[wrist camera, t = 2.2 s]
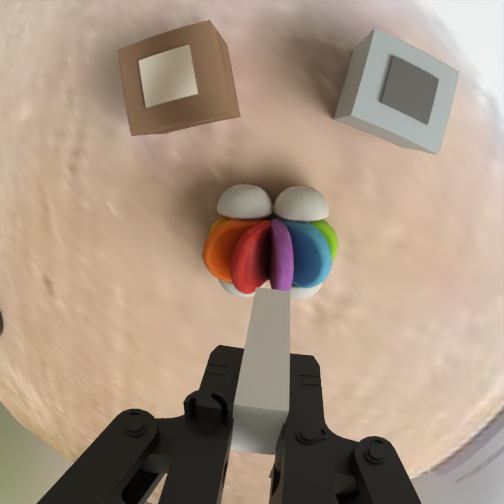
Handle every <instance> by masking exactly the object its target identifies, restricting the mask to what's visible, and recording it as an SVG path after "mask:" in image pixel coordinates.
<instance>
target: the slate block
mask: <svg viewBox="0 0 504 504" xmlns="http://www.w3.org/2000/svg"><path fill="white" fill-rule="evenodd" d="M458 74H459V72H458V71H456V70H455V69H453V68H452V67H450V66H448V65H447V64H445V63H443V62H442V61H440V60H438V59H437V58H435V57H433V56H431V55H430V54H428V53H426V52H424V51H422V50H421V49H419V48H417V47H415V46H413V45H411V44H409V43H407V42H405V41H403V40H401V39H399V38H397V37H395V36H392V35H390V34H388V33H386V32H384V31H381V30H379V29H377V28H375V29H374V30H373V31H372V32H371V33H370V34H369V35H368V36H367V37H366V38H365V39H364V40H363V41H362V42H361V43H360V44H359V45H358V46H357V47H356V48H355V49H354V50H353V53H352V56H351V60H350V63H349V67H348V71H347V74H346V77H345V81H344V84H343V88H342V91H341V95H340V98H339V101H338V105H337V108H336V111H335V115H334V118H333V119H334V120H337V121H339V122H342V123H345V124H348V125H350V126H353V127H355V128H358V129H361V130H363V131H366V132H368V133H371V134H373V135H375V136H378V137H380V138H382V139H385V140H387V141H389V142H392V143H394V144H396V145H398V146H401V147H403V148H408V149H413V150H418V151H423V152H427V153H432V154H436V155H438V153H439V150H440V147H441V144H442V140H443V137H444V133H445V129H446V126H447V122H448V118H449V114H450V110H451V106H452V102H453V98H454V93H455V89H456V84H457V79H458Z"/></svg>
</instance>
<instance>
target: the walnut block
mask: <svg viewBox="0 0 504 504" xmlns="http://www.w3.org/2000/svg"><path fill="white" fill-rule="evenodd" d="M118 53H119V61H120V69H121V76H122V83H123V90H124V97H125V103H126V109H127V115H128V120H129V126H130V131H131V136H136V135H148V134H163V133H169V132H173V131H177V130H181V129H185V128H189V127H193V126H198V125H202V124H206V123H211V122H216V121H221V120H226V119H231V118H236V117H240V112H239V106H238V101H237V95H236V90H235V84H234V79H233V74H232V68H231V63H230V58H229V52H228V47H227V44H226V43H225V41H224V40H223V38H222V37H221V35H220V34H219V33H218V31H217V30H216V28H215V27H214V25H213V24H212V23H211V21H210V20H208V21H204V22H200V23H196V24H192V25H189V26H185V27H182V28H178V29H175V30H172V31H169V32H166V33H163V34H160V35H157V36H154V37H151V38H148V39H145V40H143V41H140V42H138V43H135V44H132V45H130V46H127V47H125V48H123V49H120V50H118Z"/></svg>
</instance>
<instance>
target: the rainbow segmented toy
mask: <svg viewBox="0 0 504 504" xmlns="http://www.w3.org/2000/svg"><path fill="white" fill-rule="evenodd" d="M217 212H218V213H220V214H221V215H223V216H222V217H220V218H219V219H218V220H217V221H215V222H214V224H213V225H212V227H211V228H210V231H209V234H208V238H207V240H206V242H205V245H204V248H203V253H202V256H203V260H204V263H205V265H206V267H207V269H208V270H209V271H210V272H211V273H212V274H213V275H214V276H215V277H217V278H218V279H219V281H220V283H221V285H222V287H223V288H224V289H225V290H226V291H227V292H229V293H230V294H232V295H234V296H237V297H250V296H253V295H255V290H256V287H259V288H264V287H265V285H266V284H267V282H268V279H269V280H270V284H271V287H272V289H275V290H283V291H290V298H291V299H296V300H300V299H306V298H308V297H310V296H312V295H314V294H315V293H316V292H317V291H318V290H319V289H320V287H321V285H322V283H323V281H324V280H325V279H326V277H327V276H328V274H329V272H330V269H331V266H332V261H333V259H334V258H335V256H336V253H337V246H338V241H337V237H336V234H335V232H334V230H333V229H332V227H331V226H330V225H329V224H328V223H327V222H326V221H325V220H323V219H324V218H327V217H328V215H329V207H328V204H327V201H326V199H325V198H324V196H323V195H322V194H321V193H320V192H319V191H317V190H316V189H314V188H311V187H305V186H293V187H289V188H287V189H286V190H284V191H283V192H282V193H281V194H280V195H279V196H278V197H277V199H276V201H275V203H274V204H272V202H271V200H270V198H269V196H268V194H267V193H266V192H265V191H264V190H263V189H261V188H260V187H258V186H255V185H247V184H241V185H234V186H232V187H230V188H228V189H227V190H226V191H225V192H224V193H223V194H222V195H221V197H220V199H219V201H218V204H217ZM272 213H274V214H276V215H277V216H278V219H273V220H271V221H269V220H267V217H268V216H269V215H270V214H272Z"/></svg>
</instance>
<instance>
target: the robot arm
mask: <svg viewBox="0 0 504 504" xmlns="http://www.w3.org/2000/svg"><path fill="white" fill-rule="evenodd" d="M2 332H3V321H2V316H1V313H0V335H1V334H2ZM183 403H184V411H185V414H184V415H182V416H179V417H175V418H154V416H152V415H151V414H150V413H149V412H147V411H144V410H141V409H129V410H126V411H123V412H121V413H120V414H119V415H117V416H116V418H115V419H114V420H113V421H112V422H111V423H110V424H109V425H108V426H107V427H106V429H105V430H104V431H103V432H102V433H101V434H100V435H99V436H98V437H97V438H96V440H95V441H94V442H93V443H92V444H91V445H90V446H89V447H88V448H87V449H86V451H85V452H84V453H83V454H82V455H81V456H80V457H79V458H78V459H77V460H76V462H75V463H74V464H73V465H72V466H71V467H70V468H69V469H68V470H67V471H66V472H65V474H64V475H63V476H62V477H61V478H60V479H59V480H58V481H57V482H56V483H55V484H54V486H53V487H52V488H51V489H50V490H49V491H48V492H47V493H46V494H45V495H44V496H43V497H42V499H41V500H40V501H39V502H38V503H37V504H144V503H145V502H146V500H147V499H148V498H149V496H150V495H151V493H152V492H153V491H154V489H155V488H156V486H157V485H158V483H159V482H160V480H161V479H162V478H163V476H164V475H165V473H168V474H167V477H166V480H165V484H164V487H163V490H162V493H161V496H160V500H159V503H158V504H221V499H222V494H223V488H224V483H225V478H226V472H227V467H228V458H229V453H230V450H236V451H244V452H251V453H260V454H270V455H274V454H275V463H274V465H273V468H272V470H271V473H270V476H269V477H270V478H271V489H270V499H269V504H421V502H420V500H419V498H418V495H417V493H416V491H415V489H414V487H413V485H412V483H411V481H410V479H409V477H408V475H407V473H406V471H405V469H404V466H403V464H402V462H401V460H400V458H399V456H398V454H397V452H396V450H395V448H394V447H393V446H392V444H391V443H390V442H389V441H387V440H386V439H384V438H381V437H377V436H371V437H366V438H364V439H362V440H361V441H360V442H356V441H353V440H349V439H345V438H342V437H340V436H337V435H336V434H334V433H333V432H332V431H331V430H330V429H329V428H328V427H327V425H326V423H325V419H324V410H323V398H322V387H321V378H320V366H319V364H318V363H317V361H316V359H315V358H314V356H311V355H300V354H290V291H283V290H275V289H267V288H259V287H256V290H255V295H254V301H253V306H252V311H251V317H250V322H249V327H248V333H247V338H246V343H245V348H244V349H243V348H236V347H229V346H223V345H218V346H217V347H216V348H215V349H214V350H213V351H212V352H211V354H210V357H209V360H208V363H207V366H206V369H205V373H204V376H203V379H202V382H201V385H200V388H199V390H198V391H194V392H193V393H191V394H190V395H188V396H187V397H186V399H185V401H184V402H183ZM275 451H276V452H275Z"/></svg>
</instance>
